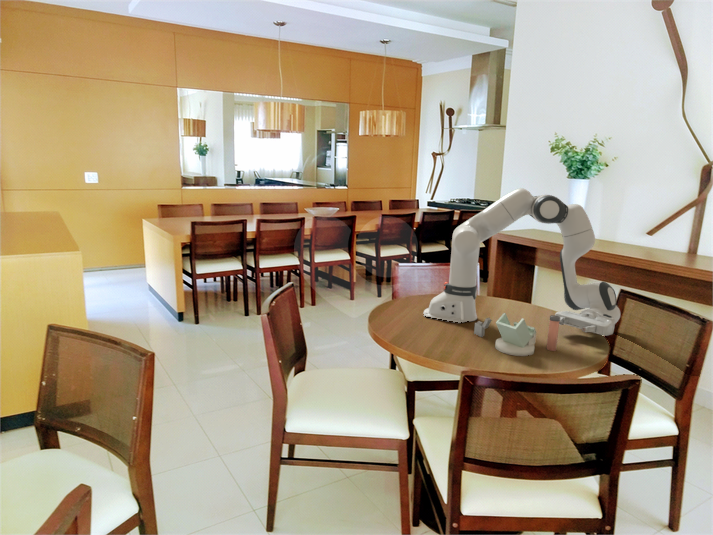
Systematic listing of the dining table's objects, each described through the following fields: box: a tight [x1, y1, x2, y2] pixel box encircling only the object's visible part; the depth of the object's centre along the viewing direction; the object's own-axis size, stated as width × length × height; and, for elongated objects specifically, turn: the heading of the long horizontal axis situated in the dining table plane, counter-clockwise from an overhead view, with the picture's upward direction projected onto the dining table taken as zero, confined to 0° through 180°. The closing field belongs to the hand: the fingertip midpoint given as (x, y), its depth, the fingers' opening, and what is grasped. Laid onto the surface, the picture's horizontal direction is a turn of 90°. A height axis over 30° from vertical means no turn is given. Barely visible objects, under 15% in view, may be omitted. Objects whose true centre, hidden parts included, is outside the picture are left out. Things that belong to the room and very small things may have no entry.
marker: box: [546, 314, 560, 352], centre depth 168 cm, size 3×3×12 cm
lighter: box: [473, 317, 493, 338], centre depth 180 cm, size 7×2×8 cm, turn 27°
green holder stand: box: [494, 312, 537, 357], centre depth 167 cm, size 13×13×12 cm
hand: (571, 325), depth 175 cm, fingers open, 8 cm apart
